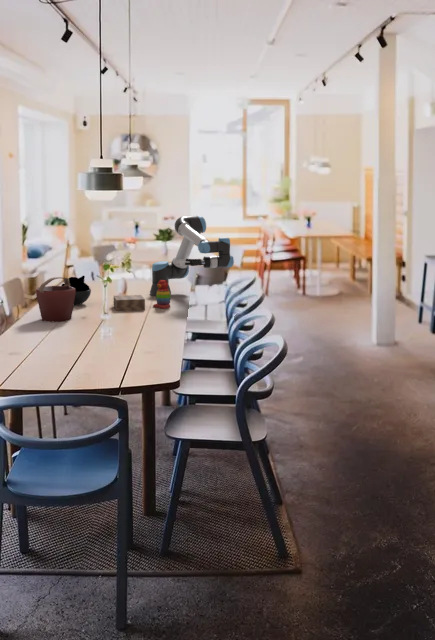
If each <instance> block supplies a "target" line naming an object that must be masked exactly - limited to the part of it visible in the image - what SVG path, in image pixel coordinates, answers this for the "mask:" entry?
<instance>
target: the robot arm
mask: <svg viewBox="0 0 435 640" xmlns="http://www.w3.org/2000/svg"><path fill="white" fill-rule="evenodd" d="M174 230H175V232H176V234H178V235H179V236H181V237H183V238H182V239H181V242H180V245H179V248H178V251H177V253H176V256H175V257H174V258H172V260H171V262H169V261H167V260H162V261H156V262H154V263H153V264H152V266H151V274H152V275H151V278H152V279H151V281H152V284H151V287H150V290H149V296H155V297H156V294H157V291H158V289H159V288H158V286H157V284H158V282H159V280H167V282H168V287H167V289H168V290H169V292H170V296H171V295H172V291H171V287H170V283H169V280H178V279H184V278H186V277H187V276H188V275H189V269H190V266H192V267H196V266H197V267H198V266H201V267H202V266H203V268H204V269H215V268H232V267H233V266H234V262H235V260H234V256H233V255H231V240H230V239H231V238H229V237H218V240H213V241H212V240H208V239H207V238H206V237H205V236H204V235H202V234H204V233H205V232H206V230H207V223H206V219H205V217H203V216H201V215H186V216H185V215H182V216H180V217H178V218H177V219H176V220H175V222H174ZM194 245H195V246H196V247H197V250H198V252H199V253H200V254H213V253H214V254H216V253H217V254H218V255H209V256H208V255H205V256H203V258H202V259H201V258H196V259H195V258H189V257H190V255H191V253H192V250H193V247H194Z"/></svg>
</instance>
